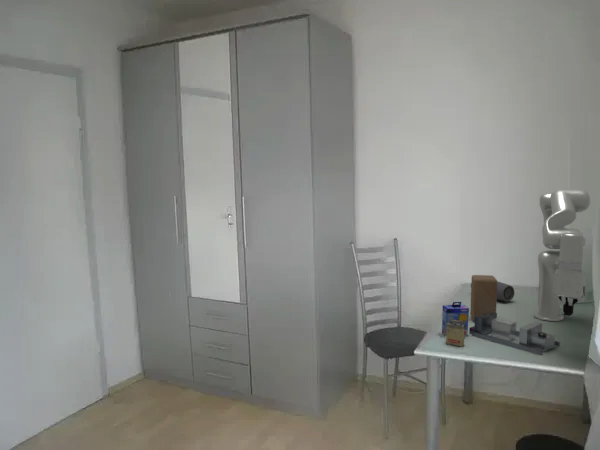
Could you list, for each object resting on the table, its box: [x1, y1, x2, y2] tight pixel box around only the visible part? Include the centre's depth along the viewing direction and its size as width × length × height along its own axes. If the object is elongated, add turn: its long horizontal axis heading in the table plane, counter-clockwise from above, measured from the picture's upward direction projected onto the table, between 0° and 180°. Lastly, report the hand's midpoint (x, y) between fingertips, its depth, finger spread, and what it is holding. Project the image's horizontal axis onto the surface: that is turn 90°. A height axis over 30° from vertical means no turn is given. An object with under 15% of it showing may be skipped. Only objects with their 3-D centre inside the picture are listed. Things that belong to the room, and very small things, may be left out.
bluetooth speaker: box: [497, 280, 515, 302], centre depth 270 cm, size 23×9×10 cm, turn 25°
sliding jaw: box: [518, 321, 556, 352], centre depth 197 cm, size 12×9×8 cm
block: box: [469, 274, 498, 322], centre depth 232 cm, size 10×10×20 cm
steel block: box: [490, 317, 517, 342], centre depth 208 cm, size 5×8×7 cm, turn 38°
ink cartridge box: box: [441, 301, 470, 337], centre depth 212 cm, size 10×6×14 cm, turn 95°
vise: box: [468, 311, 561, 356], centre depth 205 cm, size 16×31×8 cm, turn 39°
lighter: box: [445, 319, 465, 347], centre depth 201 cm, size 7×4×10 cm, turn 57°
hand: (567, 314), depth 187 cm, fingers closed
